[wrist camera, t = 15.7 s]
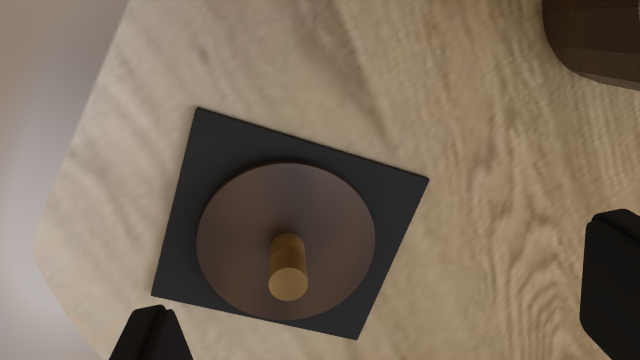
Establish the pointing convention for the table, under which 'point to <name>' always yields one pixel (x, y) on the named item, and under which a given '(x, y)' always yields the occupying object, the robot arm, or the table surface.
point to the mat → (270, 146)
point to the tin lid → (285, 240)
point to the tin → (597, 38)
